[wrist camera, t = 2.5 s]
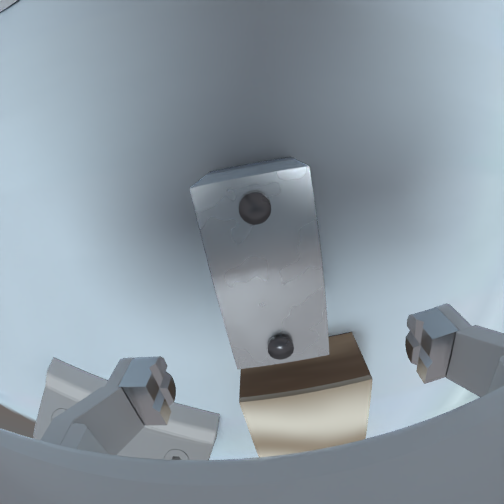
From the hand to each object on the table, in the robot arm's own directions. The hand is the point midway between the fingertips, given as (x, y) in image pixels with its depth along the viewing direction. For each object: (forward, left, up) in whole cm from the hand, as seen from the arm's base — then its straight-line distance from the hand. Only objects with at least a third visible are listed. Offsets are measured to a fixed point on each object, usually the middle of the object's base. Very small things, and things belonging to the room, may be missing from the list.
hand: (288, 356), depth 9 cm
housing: (-1, 0, -10) cm, 10 cm away
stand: (+13, +1, -10) cm, 17 cm away
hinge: (+14, -16, -10) cm, 23 cm away
